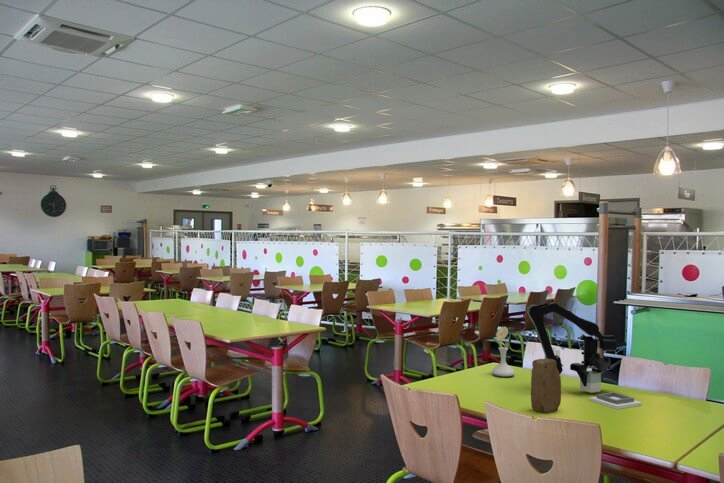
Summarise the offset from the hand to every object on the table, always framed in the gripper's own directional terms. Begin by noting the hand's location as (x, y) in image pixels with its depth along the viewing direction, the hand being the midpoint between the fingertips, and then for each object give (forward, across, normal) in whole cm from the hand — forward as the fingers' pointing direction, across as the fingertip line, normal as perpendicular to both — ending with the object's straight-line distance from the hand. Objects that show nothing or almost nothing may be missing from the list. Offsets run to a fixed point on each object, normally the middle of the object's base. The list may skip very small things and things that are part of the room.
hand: (590, 385), depth 245 cm
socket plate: (+3, -3, -16) cm, 17 cm away
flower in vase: (+3, -15, +41) cm, 44 cm away
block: (+3, -37, -13) cm, 39 cm away
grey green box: (+2, 0, 0) cm, 2 cm away
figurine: (+3, +7, +31) cm, 32 cm away
